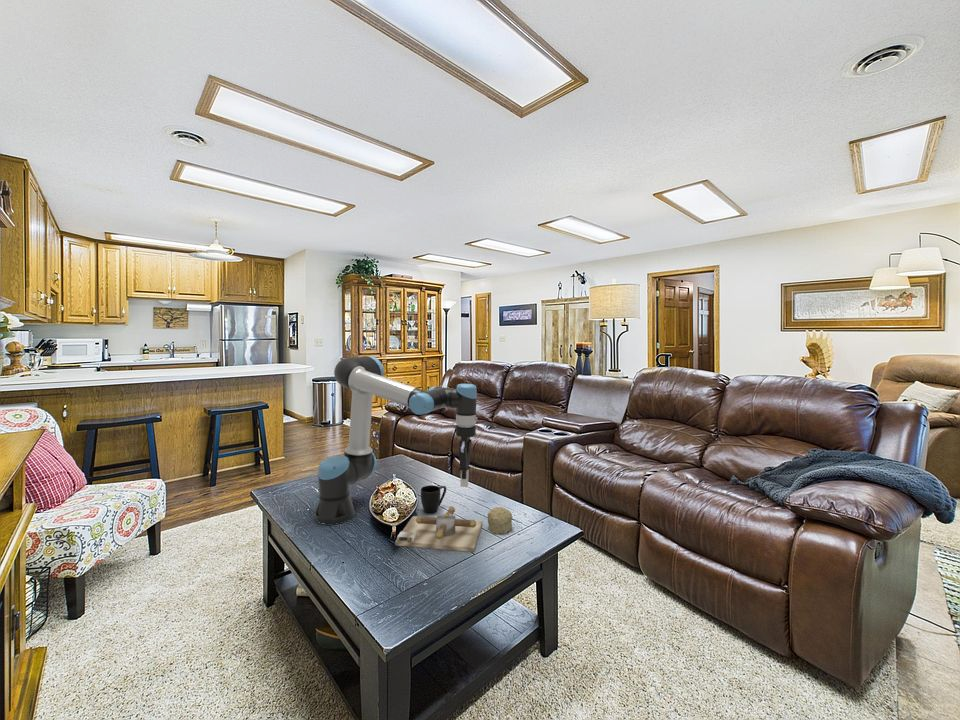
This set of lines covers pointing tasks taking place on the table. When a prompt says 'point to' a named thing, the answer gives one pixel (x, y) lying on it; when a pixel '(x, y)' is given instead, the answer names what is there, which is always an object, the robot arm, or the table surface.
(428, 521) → the capstan
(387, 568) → the table surface
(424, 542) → the stand
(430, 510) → the mug
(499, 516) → the decorative object
